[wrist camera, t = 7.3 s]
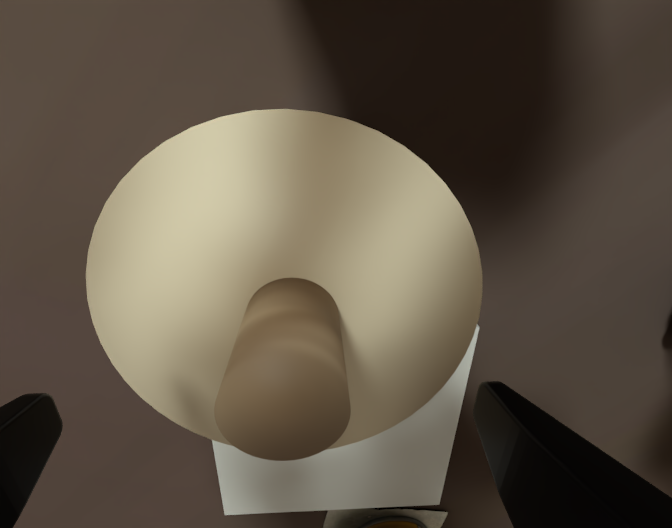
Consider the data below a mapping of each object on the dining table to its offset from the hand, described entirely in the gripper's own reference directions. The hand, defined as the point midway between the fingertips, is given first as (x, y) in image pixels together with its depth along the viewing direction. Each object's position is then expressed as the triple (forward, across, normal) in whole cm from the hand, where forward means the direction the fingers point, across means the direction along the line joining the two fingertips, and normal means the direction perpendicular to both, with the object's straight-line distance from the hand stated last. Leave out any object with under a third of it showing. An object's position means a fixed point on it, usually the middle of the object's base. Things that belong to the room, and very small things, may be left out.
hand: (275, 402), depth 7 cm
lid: (+4, 0, 0) cm, 4 cm away
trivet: (+9, -2, +11) cm, 14 cm away
